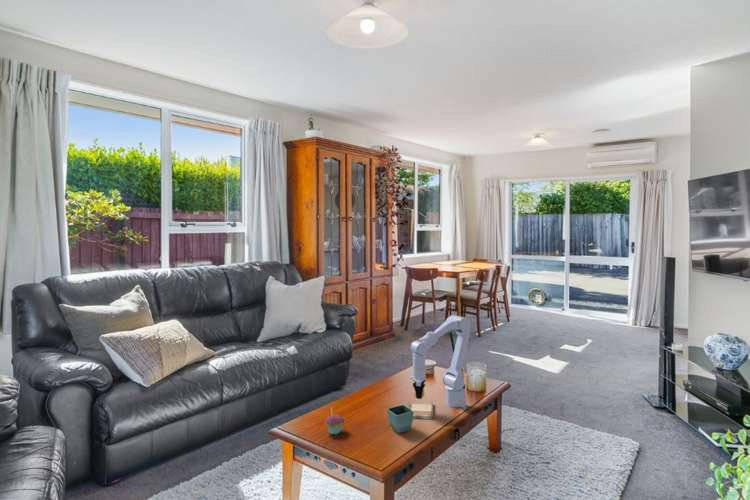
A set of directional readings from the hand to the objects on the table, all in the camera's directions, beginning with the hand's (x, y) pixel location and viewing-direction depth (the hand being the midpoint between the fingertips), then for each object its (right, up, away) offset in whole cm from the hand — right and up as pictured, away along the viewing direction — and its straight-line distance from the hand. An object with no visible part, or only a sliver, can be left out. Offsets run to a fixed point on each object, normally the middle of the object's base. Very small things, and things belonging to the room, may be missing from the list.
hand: (419, 396), depth 210 cm
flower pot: (-10, -10, -15) cm, 20 cm away
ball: (0, -1, 0) cm, 1 cm away
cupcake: (-38, -11, -15) cm, 42 cm away
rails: (+1, -9, +3) cm, 9 cm away
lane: (+1, -9, +3) cm, 9 cm away
